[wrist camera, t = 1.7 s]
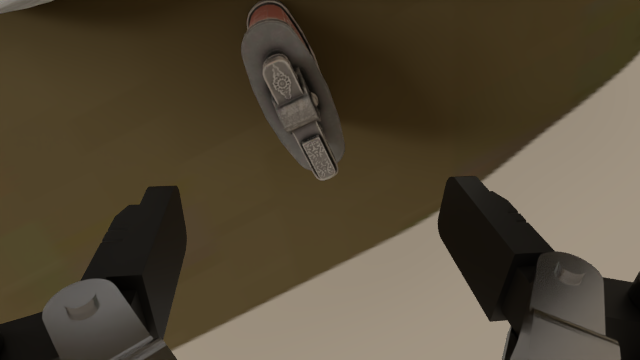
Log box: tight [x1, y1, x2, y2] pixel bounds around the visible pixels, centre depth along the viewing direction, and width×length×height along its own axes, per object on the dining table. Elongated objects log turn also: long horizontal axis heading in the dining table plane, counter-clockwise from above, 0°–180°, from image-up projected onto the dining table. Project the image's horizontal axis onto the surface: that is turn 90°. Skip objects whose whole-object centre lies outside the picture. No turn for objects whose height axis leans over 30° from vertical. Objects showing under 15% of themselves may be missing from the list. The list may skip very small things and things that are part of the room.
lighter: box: [241, 0, 345, 180], centre depth 21 cm, size 8×3×10 cm, turn 23°
